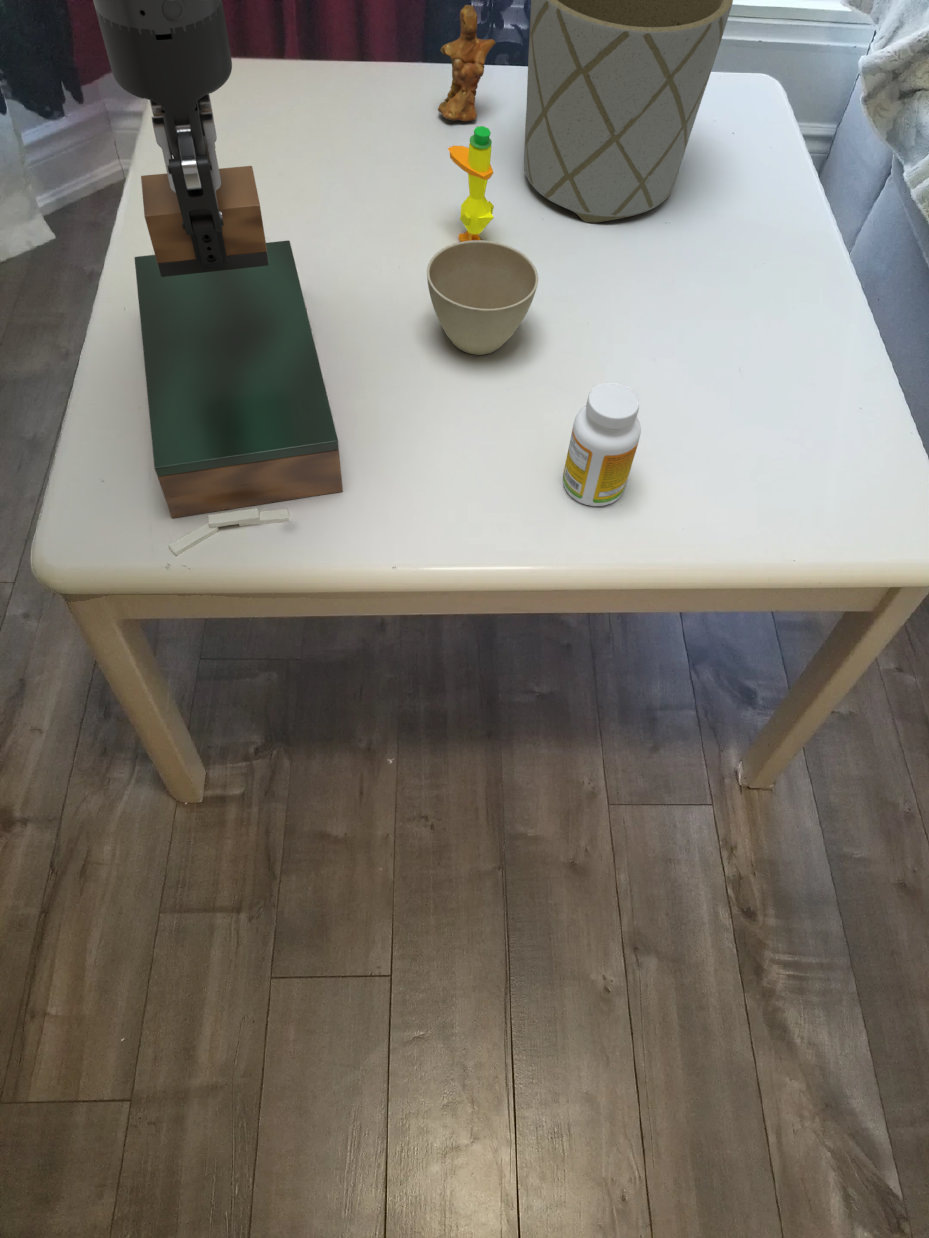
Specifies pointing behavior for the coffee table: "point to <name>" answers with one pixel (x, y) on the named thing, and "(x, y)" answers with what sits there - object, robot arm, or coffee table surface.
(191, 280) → the chalkboard
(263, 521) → the chalk stroke
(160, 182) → the eraser
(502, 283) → the flower pot
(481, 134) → the toy figure
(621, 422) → the supplement bottle
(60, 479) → the coffee table surface
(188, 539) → the chalk stroke
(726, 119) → the coffee table surface
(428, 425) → the coffee table surface
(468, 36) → the figurine
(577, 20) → the planter
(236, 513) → the chalk stroke
